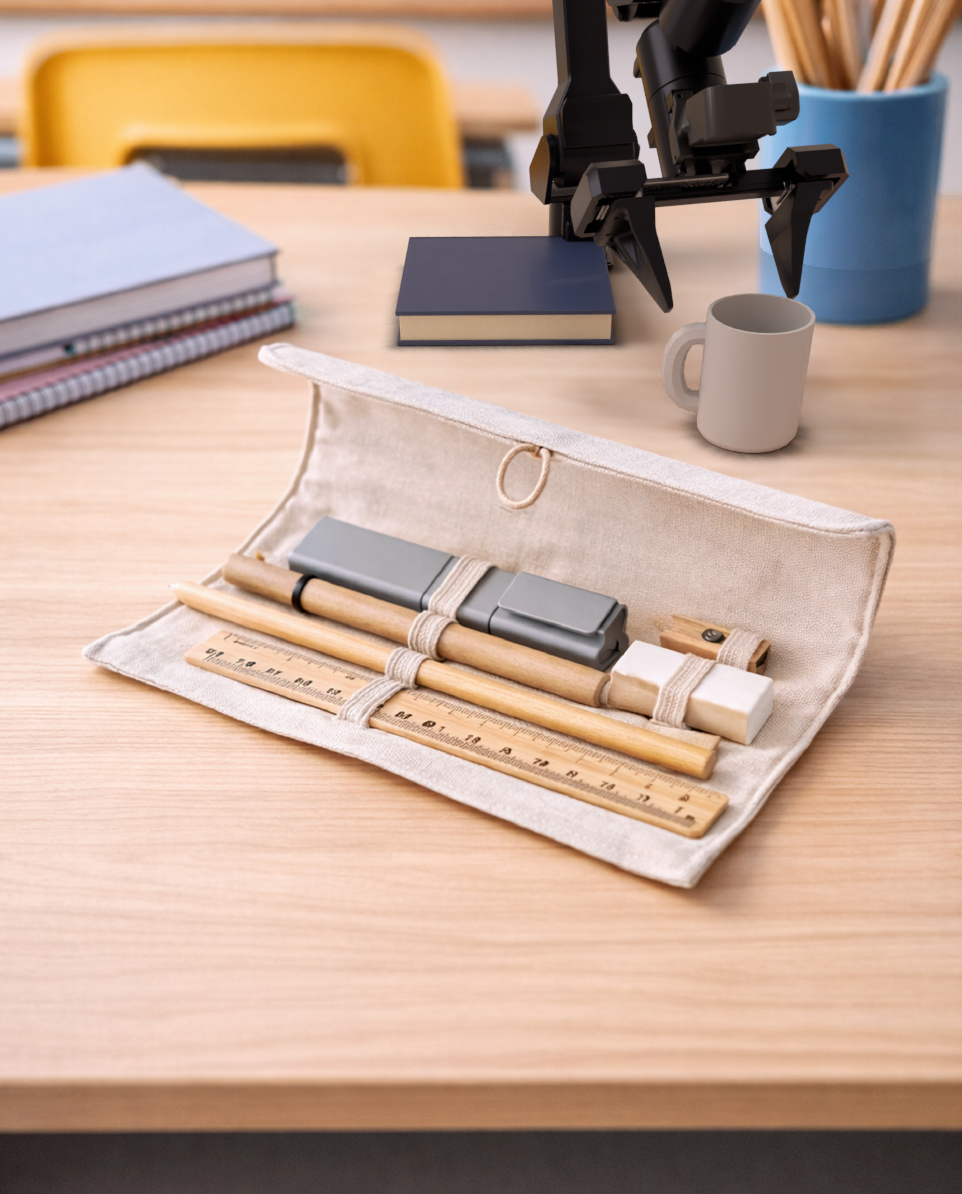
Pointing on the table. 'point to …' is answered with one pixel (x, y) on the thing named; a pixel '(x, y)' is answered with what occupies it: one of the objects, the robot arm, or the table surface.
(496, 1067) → the table surface
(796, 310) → the cup
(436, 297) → the book
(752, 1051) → the table surface
